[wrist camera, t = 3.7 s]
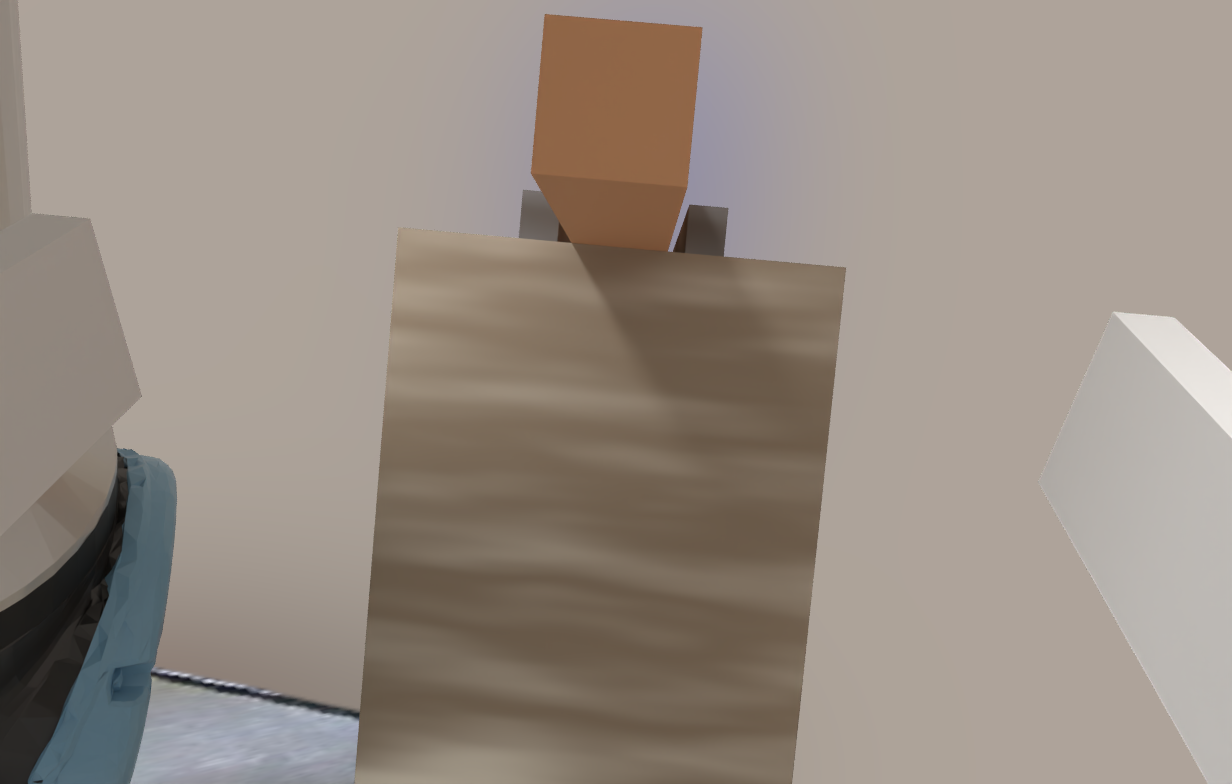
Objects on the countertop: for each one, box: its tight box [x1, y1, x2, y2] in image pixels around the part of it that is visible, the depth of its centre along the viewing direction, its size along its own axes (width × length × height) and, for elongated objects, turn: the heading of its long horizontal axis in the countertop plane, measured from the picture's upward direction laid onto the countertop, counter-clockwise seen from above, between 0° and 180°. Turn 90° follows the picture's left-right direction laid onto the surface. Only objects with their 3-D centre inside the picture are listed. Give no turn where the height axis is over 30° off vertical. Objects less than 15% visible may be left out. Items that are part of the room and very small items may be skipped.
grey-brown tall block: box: [354, 190, 846, 784], centre depth 34 cm, size 14×14×32 cm
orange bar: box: [531, 14, 702, 252], centre depth 29 cm, size 26×3×3 cm, turn 179°
